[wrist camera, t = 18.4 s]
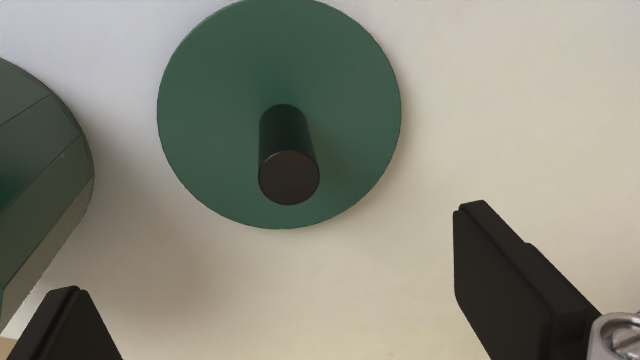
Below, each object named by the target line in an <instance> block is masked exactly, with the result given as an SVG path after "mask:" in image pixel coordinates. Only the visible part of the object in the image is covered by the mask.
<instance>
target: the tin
mask: <svg viewBox="0 0 640 360" xmlns="http://www.w3.org/2000/svg"><path fill="white" fill-rule="evenodd" d="M93 181H94V171H93V161H92V157H91V152H90V149H89V146H88V143H87V140H86V138H85V136H84V134H83V132H82V130H81V128H80V126H79V124H78V123H77V121H76V120H75V118H74V117H73V115H72V114H71V112H70V111H69V110H68V108H67V107H66V106H65V105H64V104H63V103H62V101H61V100H60V99H59V98H58V97H57V96H56V95H55V94H54V93H53V92H52V91H51V90H50V89H48V88H47V87H46V86H45V85H44V84H42V83H41V82H40V81H39V80H37V79H36V78H35V77H33V76H32V75H30V74H29V73H27V72H26V71H24V70H22V69H21V68H19V67H18V66H16V65H14V64H12V63H10V62H8V61H6V60H4V59H1V58H0V334H1V332H2V331H3V330H4V328H5V327H6V325H7V324H8V322H9V321H10V320H11V318H12V317H13V315H14V314H15V312H16V311H17V310H18V308H19V307H20V305H21V304H22V302H23V301H24V300H25V298H26V297H27V295H28V294H29V292H30V291H31V290H32V288H33V287H34V285H35V284H36V282H37V281H38V280H39V278H40V277H41V275H42V274H43V272H44V271H45V270H46V268H47V267H48V265H49V264H50V262H51V261H52V260H53V258H54V257H55V255H56V254H57V252H58V251H59V250H60V248H61V247H62V245H63V244H64V243H65V241H66V240H67V238H68V237H69V235H70V234H71V233H72V231H73V230H74V228H75V227H76V225H77V224H78V223H79V221H80V220H81V218H82V217H83V215H84V214H85V212H86V209H87V205H88V203H89V201H90V197H91V194H92V190H93Z"/></svg>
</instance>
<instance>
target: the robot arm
mask: <svg viewBox="0 0 640 360" xmlns="http://www.w3.org/2000/svg"><path fill="white" fill-rule="evenodd" d="M453 249H454V291H455V297H456V300H457V303H458V305H459V307H460V308H461V310H462V312H463V313H464V315H465V317H466V318H467V320H468V322H469V323H470V325H471V327H472V328H473V330H474V332H475V333H476V335H477V337H478V338H479V340H480V342H481V343H482V345H483V347H484V348H485V350H486V352H487V353H488V355H489V357H490V358H491V360H640V315H637V314H631V313H625V312H617V313H608V314H605V315H602V314H601V313H600V312H599V311H598V310H597V309H596V308H595V307H594V306H593V305H592V304H591V303H590V302H589V301H588V300H587V299H586V298H585V297H584V296H583V295H582V294H581V293H580V292H579V291H578V290H577V289H576V288H575V287H574V286H573V285H572V284H571V283H570V282H569V281H568V280H567V279H566V278H565V277H564V276H563V275H562V274H561V273H560V272H559V271H558V270H557V269H556V268H555V267H554V265H553V264H552V263H551V262H550V261H549V260H548V259H547V258H546V257H545V256H544V255H543V254H542V253H541V252H540V251H539V250H538V249H537V248H536V247H535V246H533V245H532V244H530V243H525V242H524V241H523V240H522V239H521V238H520V237H519V236H518V235H517V234H516V233H515V232H514V231H513V230H512V229H511V228H510V227H509V226H508V225H507V224H506V222H505V221H504V220H503V219H502V218H501V217H500V216H499V215H498V214H497V213H496V212H495V211H494V210H493V209H492V208H491V207H490V206H489V205H488V204H487V203H486V202H485V201H484V200H478V201H473V202H468V203H464V204H461V205H460V206H459V210H458V211H454V212H453ZM6 360H123V359H122V357H121V355H120V353H119V351H118V349H117V347H116V345H115V343H114V341H113V340H112V338H111V336H110V334H109V332H108V330H107V328H106V326H105V324H104V322H103V320H102V318H101V316H100V314H99V312H98V311H97V309H96V307H95V305H94V303H93V301H92V299H91V297H90V295H89V293H88V292H87V291H86V290H80V288H79V287H77V286H69V287H64V288H60V289H55V290H51V291H49V292H48V293H47V294H46V296H45V297H44V299H43V301H42V302H41V304H40V305H39V307H38V309H37V310H36V312H35V314H34V315H33V317H32V318H31V320H30V322H29V323H28V325H27V327H26V328H25V330H24V331H23V333H22V335H21V336H20V338H19V340H18V341H17V343H16V345H15V346H14V348H13V349H12V351H11V353H10V354H9V356H8V357H7V359H6Z"/></svg>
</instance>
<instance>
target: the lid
mask: <svg viewBox="0 0 640 360" xmlns="http://www.w3.org/2000/svg"><path fill="white" fill-rule="evenodd" d="M157 124H158V132H159V137H160V141H161V144H162V148H163V151H164V153H165V155H166V158H167V160H168V162H169V164H170V166H171V168H172V169H173V171H174V173H175V174H176V176H177V177H178V179H179V180H180V181H181V183H182V184H183V185H184V186H185V188H186V189H187V190H188V191H189V192H190V193H191V194H192V195H193V196H194V197H195V198H196V199H198V200H199V201H200V202H201V203H203V204H204V205H205V206H207V207H208V208H210V209H211V210H213V211H215V212H216V213H218V214H220V215H222V216H224V217H226V218H228V219H230V220H233V221H235V222H239V223H242V224H245V225H248V226H254V227H259V228H267V229H292V228H299V227H305V226H309V225H313V224H317V223H320V222H322V221H325V220H328V219H330V218H332V217H334V216H336V215H338V214H340V213H342V212H344V211H345V210H347V209H348V208H350V207H351V206H353V205H354V204H356V203H357V202H358V201H359V200H360V199H362V198H363V197H364V196H365V195H366V194H367V193H368V192H369V191H370V190H371V189H372V188H373V187H374V185H375V184H376V183H377V181H378V180H379V179H380V177H381V176H382V175H383V173H384V171H385V170H386V168H387V166H388V164H389V162H390V160H391V158H392V155H393V153H394V151H395V148H396V145H397V141H398V137H399V133H400V125H401V100H400V93H399V87H398V84H397V80H396V77H395V74H394V71H393V69H392V67H391V65H390V62H389V60H388V58H387V57H386V55H385V54H384V52H383V50H382V49H381V47H380V46H379V44H378V43H377V42H376V41H375V40H374V38H373V37H372V36H371V35H370V34H369V33H368V32H367V31H366V30H365V29H364V28H363V27H362V26H361V25H359V24H358V23H357V22H356V21H354V20H353V19H352V18H350V17H349V16H347V15H346V14H344V13H343V12H341V11H339V10H337V9H335V8H333V7H331V6H329V5H327V4H325V3H321V2H318V1H315V0H241V1H238V2H236V3H233V4H231V5H228V6H226V7H224V8H222V9H220V10H218V11H217V12H215V13H213V14H212V15H210V16H208V17H207V18H206V19H204V20H203V21H202V22H201V23H200V24H198V25H197V26H196V27H195V28H194V29H193V30H192V31H191V32H190V33H189V34H188V35H187V36H186V37H185V38H184V39H183V41H182V42H181V43H180V44H179V46H178V47H177V49H176V50H175V52H174V53H173V55H172V56H171V58H170V61H169V63H168V65H167V67H166V69H165V71H164V74H163V77H162V80H161V84H160V87H159V93H158V99H157Z"/></svg>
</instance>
